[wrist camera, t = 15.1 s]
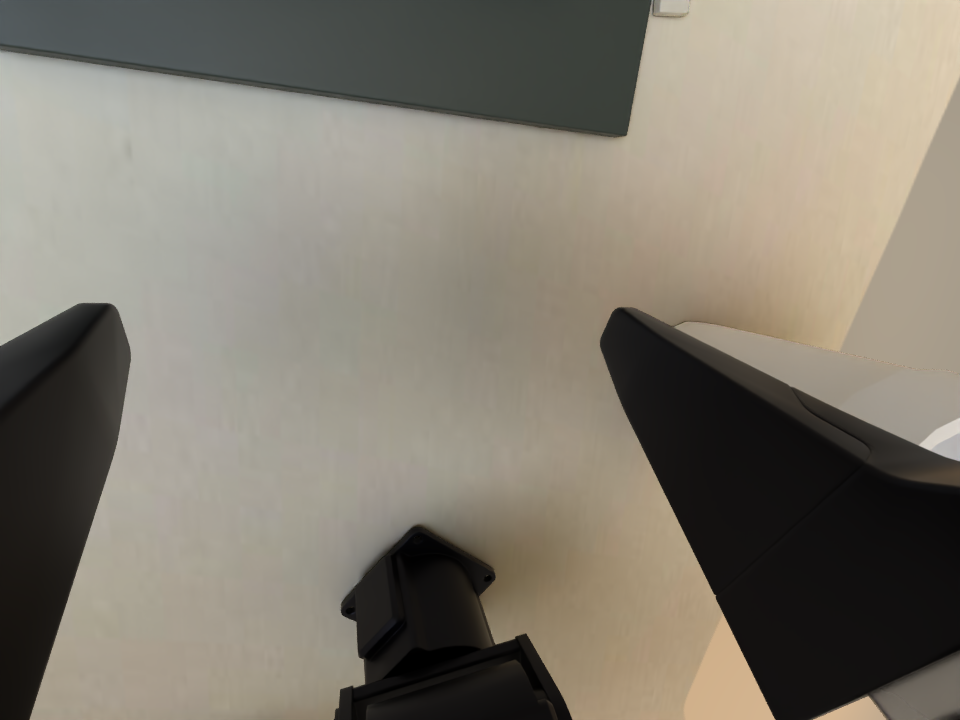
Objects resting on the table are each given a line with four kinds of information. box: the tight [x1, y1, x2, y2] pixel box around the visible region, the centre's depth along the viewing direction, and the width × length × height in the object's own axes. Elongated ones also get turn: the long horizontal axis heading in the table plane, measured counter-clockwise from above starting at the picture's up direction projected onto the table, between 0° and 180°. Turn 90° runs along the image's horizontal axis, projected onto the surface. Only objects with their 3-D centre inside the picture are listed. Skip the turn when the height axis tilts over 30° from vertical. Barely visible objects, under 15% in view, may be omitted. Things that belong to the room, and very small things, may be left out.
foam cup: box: [674, 322, 960, 461], centre depth 21 cm, size 10×9×13 cm
